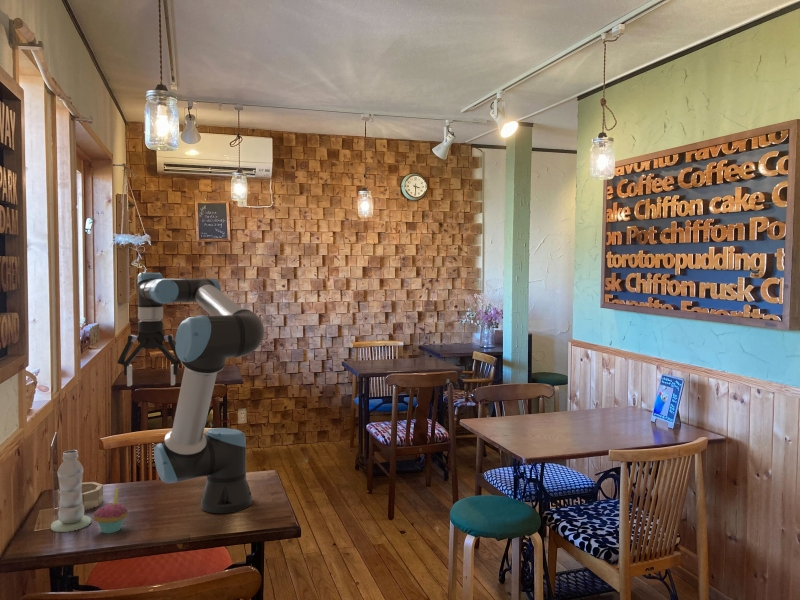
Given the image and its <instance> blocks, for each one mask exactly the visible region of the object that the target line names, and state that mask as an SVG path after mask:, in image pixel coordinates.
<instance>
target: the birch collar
mask: <svg viewBox="0 0 800 600" xmlns="http://www.w3.org/2000/svg"><path fill="white" fill-rule="evenodd" d="M57 494H58V495H57V496H58V497H57V498H58V500H57V502H58V507H57V508H59V507H60V490H59V491H58V493H57ZM82 500H83V505H84V510H85V511H88V510H91V509H94V508H93V507H95V508H98V507H99V506H100V505H101V504H102V503H103V502H104V485H103V484H102V483H99V482H96V481H87V482H82ZM102 501H103V502H102ZM97 506H98V507H97ZM90 508H91V509H90ZM87 509H88V510H87Z"/></svg>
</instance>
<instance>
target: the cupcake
mask: <svg viewBox="0 0 800 600" xmlns="http://www.w3.org/2000/svg"><path fill="white" fill-rule="evenodd" d="M114 494H115V495H114V500H113V503H112V502H110V503H107V504H105V505H103V506H101V507H99V508H98V509H96V511H94V514H93V518H92V519H93V521H94V522H96V523H97V524H98V525H99V528H100V531H101V533H103V534H114V533H117V532H118V531H120V530H121V529H122V525H123V522H124V519H125V518H126V517H128V516H129V515H128V514H129V512H128V507H126V506H125V505H123V504H121V503H118V495H119V485H117V488H115V493H114Z"/></svg>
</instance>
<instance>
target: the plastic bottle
mask: <svg viewBox="0 0 800 600" xmlns="http://www.w3.org/2000/svg"><path fill="white" fill-rule="evenodd" d="M78 453H79V452H78V450H77V449H70V450H65V451H63V452H62V460H63V461H62V463H61V464H60V466H59V467H58V469H57V472H56V474H57V478H58V484H59V491H60V507H59V509H58V512H57V516H58V520H60V522H61V523H64V524H70V523H75V522H78V521H80V520H81V519H82V518H83V516H85V511H86V510H84V505H83V500H82V483H83V476H84V466H83V464H82V463H81V462H80V461H79V460H78V458H79V454H78Z"/></svg>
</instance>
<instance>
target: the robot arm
mask: <svg viewBox="0 0 800 600" xmlns="http://www.w3.org/2000/svg"><path fill="white" fill-rule="evenodd" d="M136 285H137V307H138V308H137V309H138V310H137V319H138V322H137V325H138V326H137V328H138V329H137V332H138V333H137V335H134V334H130V335H128V336H127V340H126V344H125V346H124V348H123V349H122V352H121V354H120V356H119V357H118V360H117V364H118V365H122V366H123V375H124V376H125V377H126V386H127V387H131V386H133V365H132V364H131V363H132V362H133V360H134V359H135V358H136V357H137V356H138V355H139V353H140V352H141V351H142V350H143V349H145V350H149V349H152V350H156V349H158V350H159V351H161V352H162V354H163V355H164V356H165V357H166V358H167V360H169V361H170V363H172V364H171V365H170V386H175V385H176V375H178V374H179V364H181V365H182V366H183V367H184V370H183V375H182V379H181V384H180V385H181V386H180V388H179V395H178V399H177V404H176V410H175V415H174V418H173V424H172V429H170V430H169V431H168V432H167V433H166V434H165V436H164V440H163V442H159V443H156V445H155V446H154V449H153V458H154V462H155V463H154V465H155V468H156V469H155V470H156V471H157V474H158V477H159V479H160V480H161V482H163V483H165V484H173V483H179V482H185V481H189V480H190V481H191V480H194V479H197V478H198V479H199V478H202V477H206V483H205V486H204V490H203V494H202V496H201V499H200V508H201V510H202V511H203V512H206V513H211V514H231V513H235V512H239V511H243V510H245V509H247V508H249V507H250V506H251V505H252V503H253V495H252V492H251V489H250V485H249V483H248V480H247V441H246V440H247V439H246V435H245V433H244V432H243V431H242V430H240V429H236V428H235V429H234V428H228V427H215V428H210V429H209V428H208V429H207V430H206V432H205V426H206V423H207V420H208V419H207V418H208V414H209V411H210V406H211V402H212V401H211V400H212V396H213V393H214V389H215V383H216V380H217V375H218V373H219V372H221V371H223V369H224V368H225V366H226V361H227V359H230V358H231V359H233V358H242V357H245V356H248V355H250V354H252V353H253V352H254V351H256V350H257V349H258V348H259V346H260V345H261V344H262V343H263V340H264V335H265V329H264V324H263V322H262V320H261V318H260V317H259V316H258V315H257V314H256V313H254V312H253V311H252V310H251V309H247V308H242V307H241V306H240V305H238V304H237V303H236V302H235V301H234V300H233V299H231V298H230V297H228V296H227V295H225V293H223V292H222V288H221V285H220V282H219V281H218V279H212V278H208V277H207V278H206V277H205V278H164V277H163V274H162V273H160V272H139V274H138V275H137V283H136ZM172 303H173V304H175V303H196V304H198V305H199V306H200V307H201V308H202V309H203V310H204V311H206V312H207V313H208V314H209V315H202V314H200V315H197V316H190V317H187V318H184V319H183V320H182V321H181V322H180V324H179V325H178V327H177V330H176V334H175V336H174V334H173V333H172V334H169V335H168V334H167V335H165V334H164V321H163V319H164V304H172ZM136 340H137V342H138V343H139V344H138V345H137V346H136V348H135V349H134V350H133V352H132V353H131V354H130V355H129V352H130V350H131V348H132V346H133V344H134V343H135V342H136ZM164 340H166V342H167V343H168V344H169V346H170V348H171V350H172V353H174V355H173V354H172V353H171V352H170V351H169V349H168V348H167V347H166V346H165V344H164V343H163V342H164ZM128 355H129V356H128ZM204 432H205V433H204Z"/></svg>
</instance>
